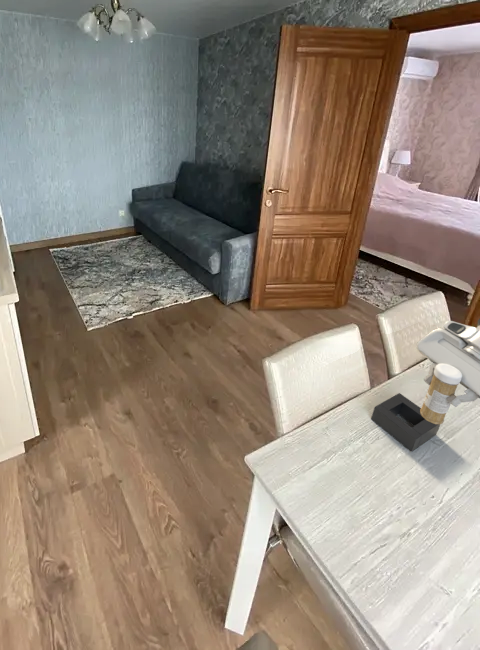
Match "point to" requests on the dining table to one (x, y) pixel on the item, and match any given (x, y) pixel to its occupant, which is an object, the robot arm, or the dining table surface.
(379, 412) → the socket block
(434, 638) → the dining table surface
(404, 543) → the dining table surface
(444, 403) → the sprinkles bottle
